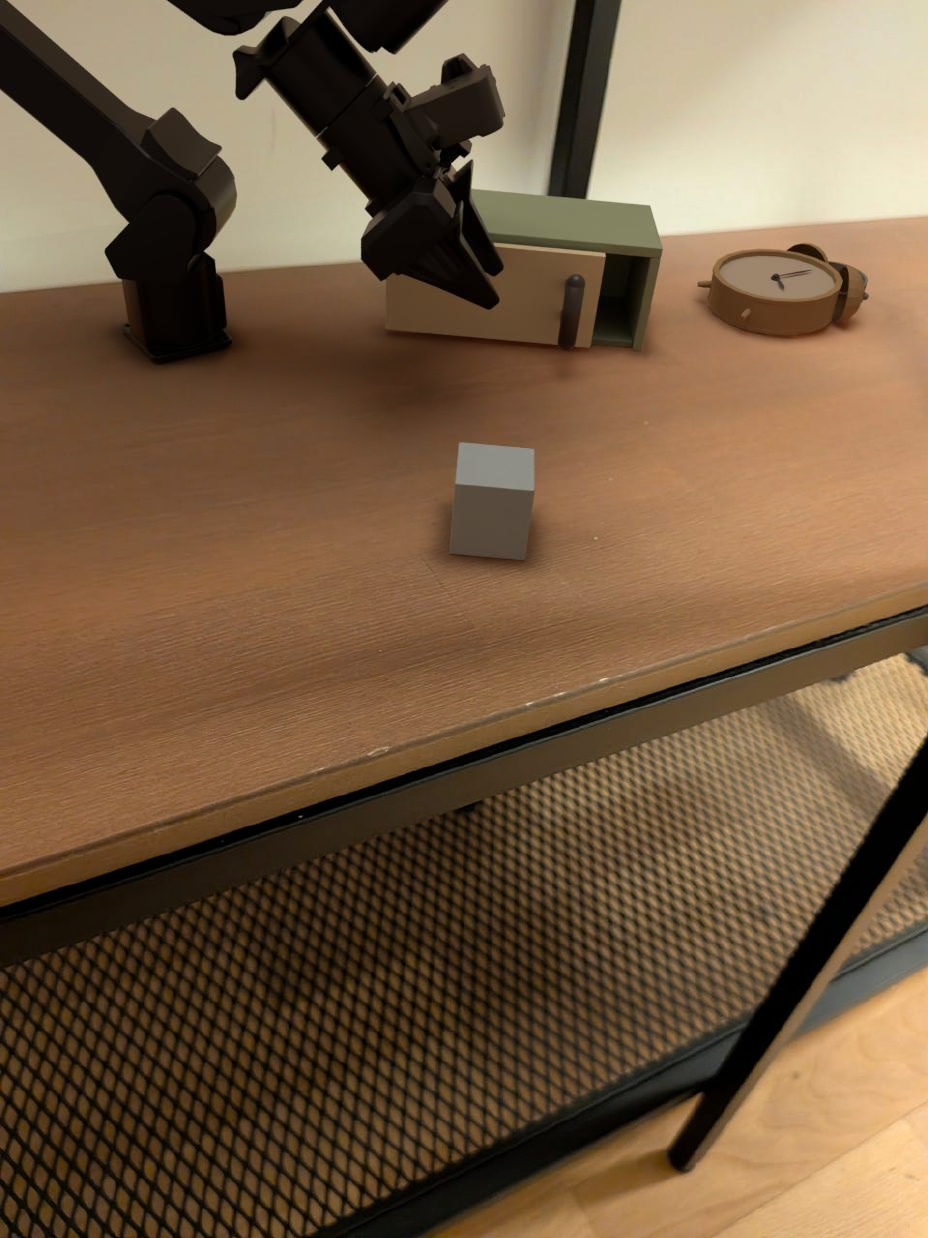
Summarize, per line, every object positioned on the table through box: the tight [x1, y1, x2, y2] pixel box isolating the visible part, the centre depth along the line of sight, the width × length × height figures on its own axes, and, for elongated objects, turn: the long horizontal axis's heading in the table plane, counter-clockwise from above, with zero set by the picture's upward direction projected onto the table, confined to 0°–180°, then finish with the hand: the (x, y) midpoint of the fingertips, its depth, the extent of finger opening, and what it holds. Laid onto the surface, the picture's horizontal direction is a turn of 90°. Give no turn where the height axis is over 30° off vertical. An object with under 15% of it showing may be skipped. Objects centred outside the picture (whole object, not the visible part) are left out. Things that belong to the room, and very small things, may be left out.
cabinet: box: [471, 188, 664, 352], centre depth 80 cm, size 18×10×8 cm, turn 87°
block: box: [449, 441, 536, 561], centre depth 57 cm, size 4×4×5 cm
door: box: [384, 243, 606, 352], centre depth 74 cm, size 17×6×8 cm, turn 87°
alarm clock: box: [697, 242, 870, 336], centre depth 87 cm, size 11×5×15 cm
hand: (497, 287), depth 70 cm, fingers open, 6 cm apart
